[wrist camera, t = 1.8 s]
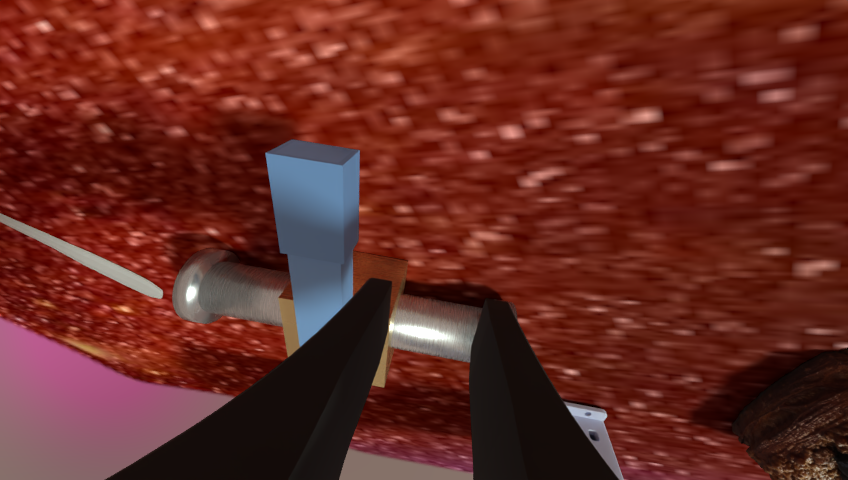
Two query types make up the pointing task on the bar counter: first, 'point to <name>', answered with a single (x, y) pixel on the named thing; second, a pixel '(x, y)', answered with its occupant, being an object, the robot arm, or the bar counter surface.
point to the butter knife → (88, 259)
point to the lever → (316, 226)
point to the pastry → (801, 422)
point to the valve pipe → (273, 304)
